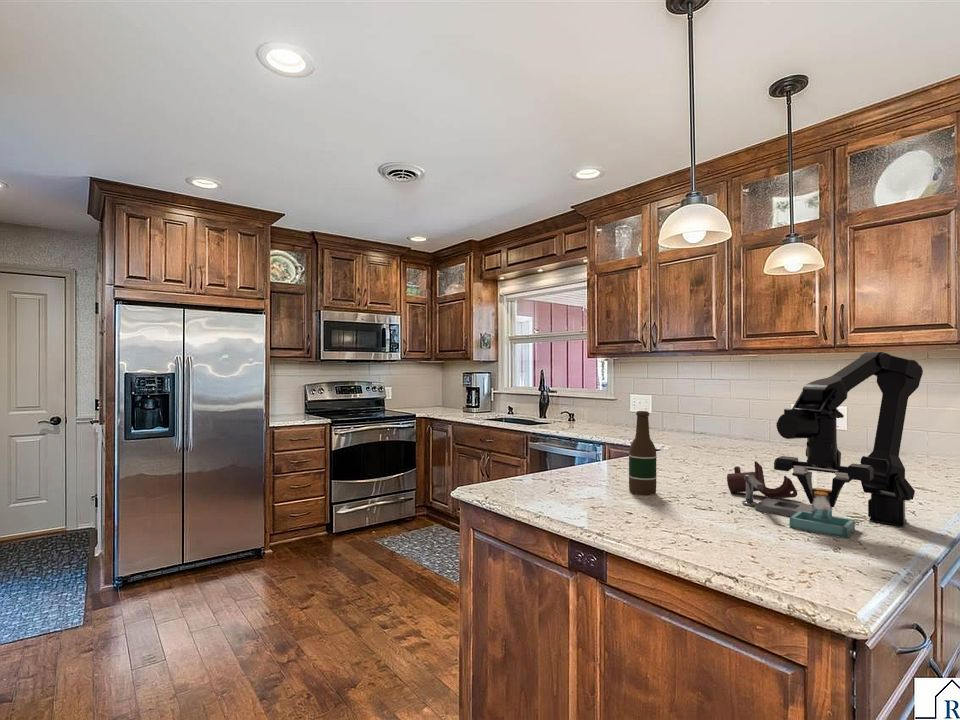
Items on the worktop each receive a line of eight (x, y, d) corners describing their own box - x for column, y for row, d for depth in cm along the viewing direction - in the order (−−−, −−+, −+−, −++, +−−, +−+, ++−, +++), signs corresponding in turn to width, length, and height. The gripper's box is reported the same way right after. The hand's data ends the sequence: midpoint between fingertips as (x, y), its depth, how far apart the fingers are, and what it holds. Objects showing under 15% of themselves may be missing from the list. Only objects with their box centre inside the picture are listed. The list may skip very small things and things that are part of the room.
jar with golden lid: (833, 517, 121) (833, 489, 121) (830, 520, 119) (829, 492, 119) (814, 513, 124) (814, 487, 124) (810, 516, 121) (810, 489, 121)
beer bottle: (623, 490, 157) (623, 410, 158) (643, 488, 161) (643, 409, 161) (641, 496, 150) (641, 412, 151) (662, 494, 154) (662, 411, 154)
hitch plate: (818, 511, 135) (818, 486, 136) (808, 519, 128) (808, 493, 128) (748, 500, 147) (748, 477, 147) (735, 506, 140) (735, 482, 140)
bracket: (795, 494, 143) (789, 458, 147) (728, 497, 153) (724, 464, 157) (799, 498, 147) (793, 463, 152) (734, 502, 157) (730, 469, 161)
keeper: (743, 478, 144) (743, 474, 144) (753, 479, 143) (753, 475, 143) (754, 489, 132) (754, 484, 132) (765, 489, 131) (765, 484, 131)
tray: (854, 529, 121) (854, 519, 121) (846, 538, 114) (846, 528, 114) (799, 519, 128) (799, 510, 128) (789, 527, 122) (789, 517, 122)
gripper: (877, 438, 121) (878, 506, 121) (786, 431, 134) (786, 492, 134) (869, 443, 113) (869, 516, 113) (773, 435, 126) (773, 500, 126)
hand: (822, 505), depth 121 cm, fingers closed on jar with golden lid, 4 cm apart
